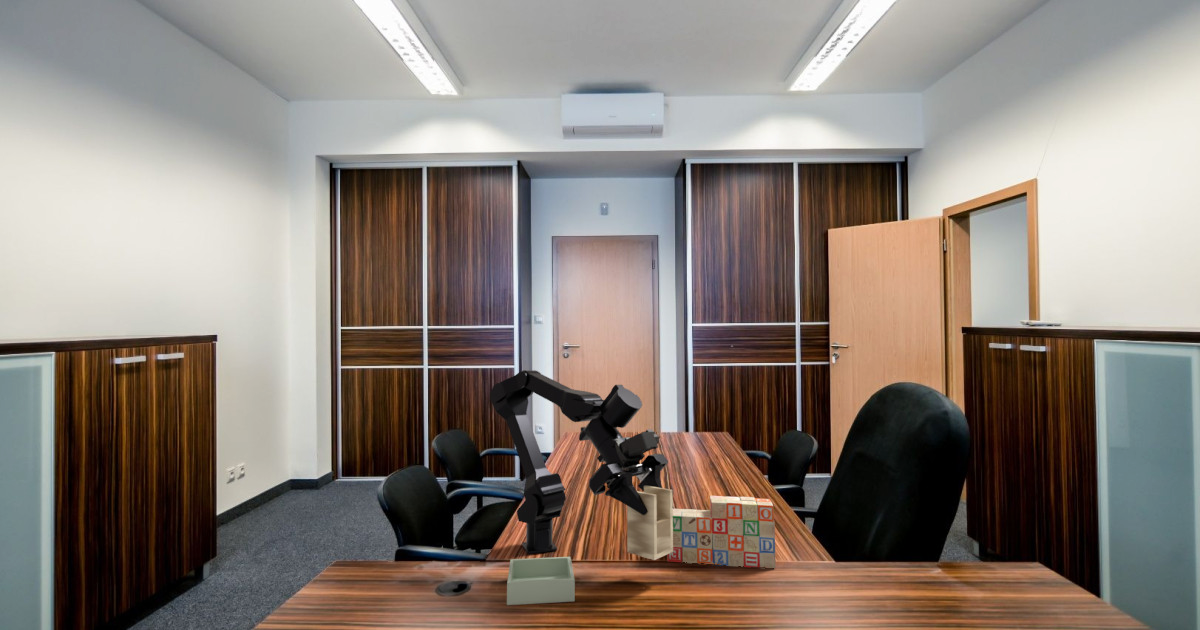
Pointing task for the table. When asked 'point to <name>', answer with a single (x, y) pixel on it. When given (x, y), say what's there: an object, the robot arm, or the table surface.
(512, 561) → the box
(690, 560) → the stack of blocks
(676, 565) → the table surface
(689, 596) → the table surface
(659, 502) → the small magazine holder
